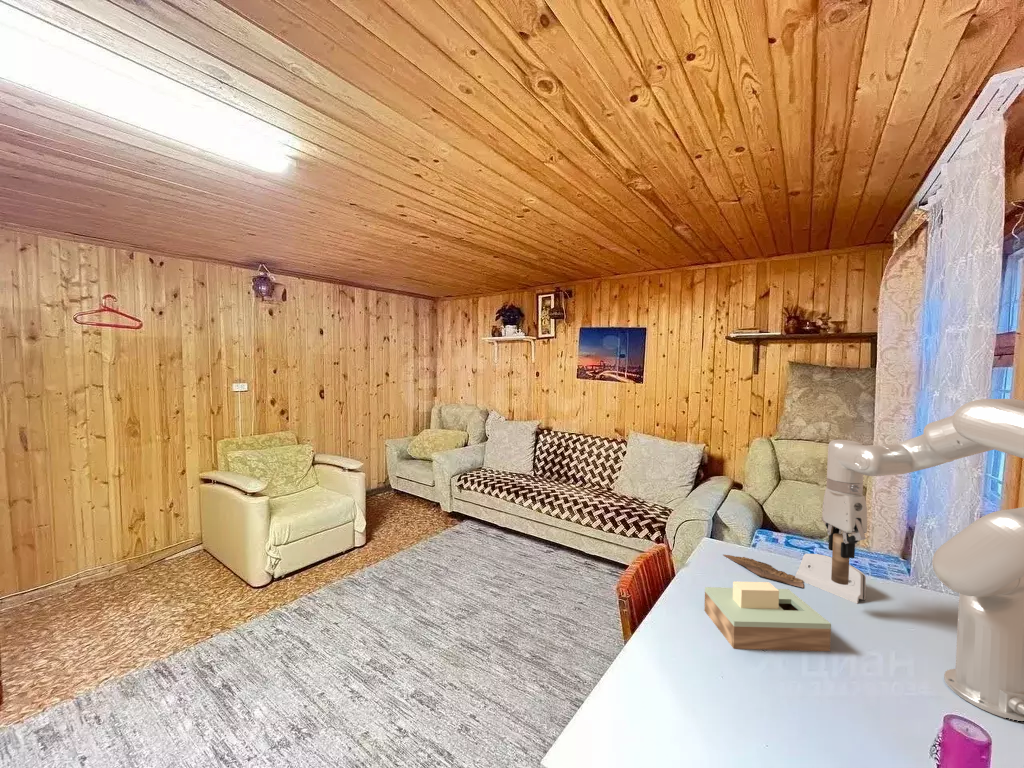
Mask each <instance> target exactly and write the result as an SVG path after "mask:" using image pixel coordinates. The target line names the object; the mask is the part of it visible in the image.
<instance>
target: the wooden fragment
mask: <svg viewBox="0 0 1024 768" xmlns="http://www.w3.org/2000/svg"><path fill="white" fill-rule="evenodd" d="M723 556H724V557H726V559H727V558H728V559H729V560H730V561H733V562H735V563H736V564H738V565H740V566H742V567H744V568H745V569H747V570H748V571H750V572H751V573H754V575H757V576H758V578H759V577H760V578H766V579H769V580H773V581H777V582H780V583H784V584H787V585H791V586H795V587H800V588H802V589H804V588H805V586H806V585H805V583H804V582H803V580H801V579H799V578H795V576H796V575H793V574H788V573H787V572H785V571H783V570H778V569H776V568H775V567H773V566H772V565H771V564H768V563H767V562H761V561H759V560H755V559H754V558H750V557H749V558H748V557H745V556H742V557H741V556H734V555H731V554H723Z"/></svg>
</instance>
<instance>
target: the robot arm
mask: <svg viewBox="0 0 1024 768" xmlns="http://www.w3.org/2000/svg"><path fill="white" fill-rule="evenodd" d="M993 450H995V451H998V452H1000V453H1005V454H1008V455H1011V456H1015V457H1018V458H1021V459H1024V400H1021V399H1015V398H984V399H983V398H982V399H975V400H972V401H968V402H967V403H964V404H962V405H961V406H960V407H959V408H958V409H956V410H955V412H954V414H953V415H949V416H946V417H944V418H942V419H939V420H936V421H935V420H934V421H932V422H929V423H927V424H926V425H925V426H924V429H923V434H920V435H918V436H915V437H912V438H909V439H906V440H903V441H899V442H896V443H893V444H872V445H871V444H868V445H864V444H863V443H861V442H859V441H854V440H850V439H849V440H848V439H832V440H830V441H829V442H828V446H827V463H826V464H827V465H826V467H827V468H826V486H825V490H824V495H823V501H822V510H821V511H822V513H821V514H822V517H821V522H823V523H824V525H825V527H826V530H827V532H826V533H827V535H828V548H827V549H828V550H829V551H831V552H832V549H833V534H835V533H837V534H843V542H841V557H843V558H849V559H854V558H855V556H856V555H855V552H856V551H855V550H856V545H857V544H858V542H860V541H864V540H866V539H867V538H866V535H865V534H867V532H868V511H867V510H868V509H867V501H866V498H865V495H863V492H864V489H863V488H864V476H866V477H881V476H894V475H896V476H897V475H905V474H906V475H907V474H910V473H914V472H918V471H922V470H926V469H929V468H933V467H937V466H941V465H943V464H947V463H950V462H953V461H954V462H955V461H956V460H960V459H963V458H967V457H970V456H974V455H977V454H982V453H986V452H989V451H993ZM849 535H850V536H849ZM848 536H849V537H848ZM931 562H932V569H933V572H934V574H935V575H936V577H937V578H938V580H939V582H940V583H942V584H943V585H944V586H946V587H947V588H948V589H949V590H951V591H953V592H955V593H958V594H959V597H958V607H957V625H956V626H957V628H956V631H957V632H956V633H957V634H956V651H955V654H956V655H955V668H951V669H947V670H946V671H945V672H944V675H943V677H944V683H945V684H946V685H947V686H948V688H949V689H950V690H951V691H953V693H955V695H957V696H959V697H960V698H961V699H962V700H965V701H966V702H968V703H969V704H971V705H973V706H975V707H977V708H978V709H981V710H983V711H986V712H987V713H989V714H993V715H995V716H997V717H1000V718H1004V719H1006V718H1009V719H1008V720H1010V719H1014V720H1019V721H1024V506H1022V507H1017V508H1008V509H1002V510H997V511H993V512H990V513H987V514H985V515H983V516H981V517H980V518H978V519H976V520H975V521H973V522H971V524H969V525H968V526H966V527H965V528H963V529H961V530H960V532H958V533H956V534H955V535H954V536H953V537H951V538H950V539H948V540H947V541H946V542H945V543H943V544H942V545H940V546H939V547H938V548H937V549H936V551H934V553H933V557H932V561H931ZM1014 720H1013V721H1014Z"/></svg>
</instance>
